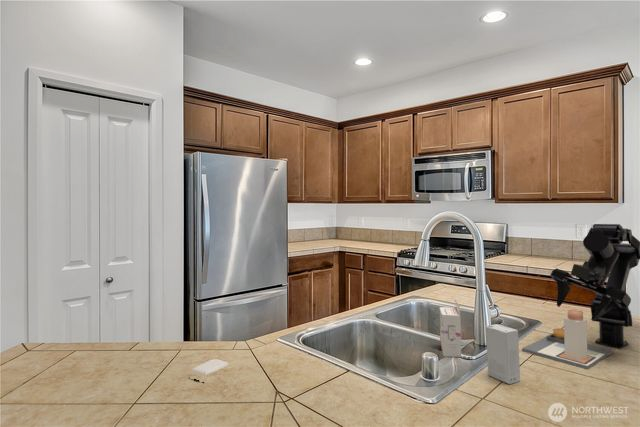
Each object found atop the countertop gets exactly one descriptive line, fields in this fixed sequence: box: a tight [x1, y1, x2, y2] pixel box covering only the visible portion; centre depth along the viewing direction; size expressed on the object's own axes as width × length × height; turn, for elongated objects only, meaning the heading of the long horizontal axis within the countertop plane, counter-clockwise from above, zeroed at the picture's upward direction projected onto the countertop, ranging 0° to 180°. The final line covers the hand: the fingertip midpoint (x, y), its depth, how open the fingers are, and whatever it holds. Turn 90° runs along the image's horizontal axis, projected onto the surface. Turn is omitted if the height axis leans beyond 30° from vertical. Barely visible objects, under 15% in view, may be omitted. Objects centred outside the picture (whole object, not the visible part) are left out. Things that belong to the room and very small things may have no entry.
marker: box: [563, 309, 588, 360], centre depth 100 cm, size 4×4×12 cm
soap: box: [191, 358, 230, 375], centre depth 96 cm, size 9×7×3 cm
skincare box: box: [485, 323, 521, 385], centre depth 91 cm, size 6×4×12 cm
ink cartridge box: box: [439, 297, 462, 358], centre depth 108 cm, size 9×5×15 cm, turn 168°
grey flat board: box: [521, 333, 613, 370], centre depth 107 cm, size 18×16×2 cm
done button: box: [552, 328, 564, 338], centre depth 113 cm, size 4×4×2 cm
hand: (574, 313), depth 106 cm, fingers open, 9 cm apart
